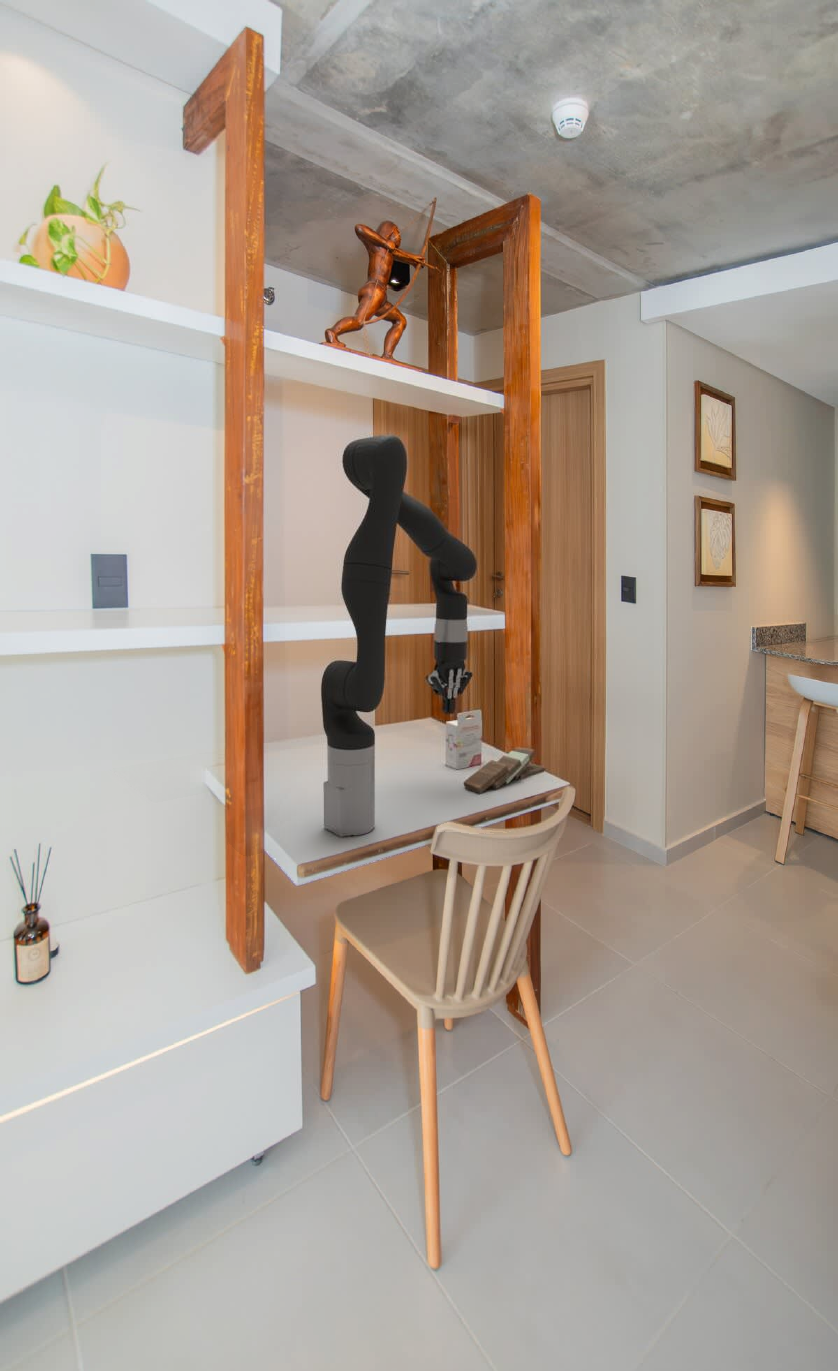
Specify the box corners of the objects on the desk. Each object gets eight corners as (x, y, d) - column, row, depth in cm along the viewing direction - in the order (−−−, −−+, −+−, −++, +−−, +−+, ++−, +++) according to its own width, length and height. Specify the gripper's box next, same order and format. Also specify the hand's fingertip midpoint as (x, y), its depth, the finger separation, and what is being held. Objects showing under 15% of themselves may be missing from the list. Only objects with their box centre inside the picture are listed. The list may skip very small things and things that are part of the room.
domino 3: (515, 773, 160) (534, 749, 166) (497, 770, 163) (516, 747, 169) (516, 779, 160) (535, 754, 167) (499, 775, 163) (518, 752, 170)
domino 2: (495, 784, 153) (520, 760, 158) (478, 779, 156) (503, 755, 162) (496, 789, 154) (521, 765, 159) (480, 784, 157) (505, 760, 163)
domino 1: (478, 788, 150) (507, 765, 155) (463, 782, 154) (491, 759, 159) (480, 793, 151) (508, 770, 156) (464, 787, 155) (493, 765, 160)
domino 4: (521, 775, 161) (545, 767, 168) (505, 771, 164) (529, 762, 171) (520, 782, 161) (545, 773, 168) (504, 777, 165) (529, 768, 172)
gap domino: (506, 778, 156) (528, 754, 162) (489, 774, 160) (511, 750, 166) (507, 783, 157) (529, 759, 163) (490, 779, 160) (512, 755, 166)
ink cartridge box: (469, 759, 176) (470, 705, 174) (481, 764, 173) (483, 709, 170) (444, 765, 171) (445, 709, 169) (456, 770, 168) (457, 713, 165)
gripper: (460, 635, 156) (458, 707, 159) (417, 638, 148) (416, 714, 151) (483, 639, 151) (480, 713, 154) (440, 642, 142) (437, 720, 145)
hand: (448, 713), depth 152 cm, fingers closed
